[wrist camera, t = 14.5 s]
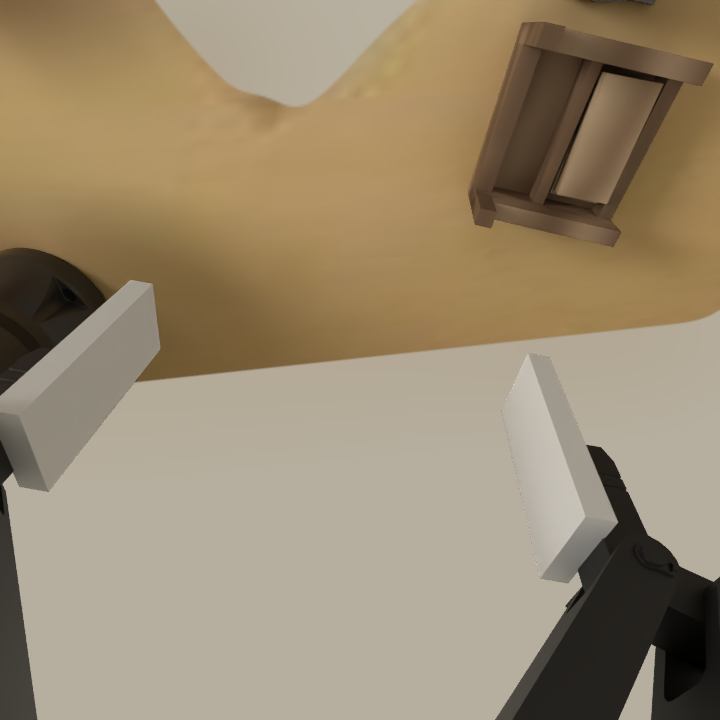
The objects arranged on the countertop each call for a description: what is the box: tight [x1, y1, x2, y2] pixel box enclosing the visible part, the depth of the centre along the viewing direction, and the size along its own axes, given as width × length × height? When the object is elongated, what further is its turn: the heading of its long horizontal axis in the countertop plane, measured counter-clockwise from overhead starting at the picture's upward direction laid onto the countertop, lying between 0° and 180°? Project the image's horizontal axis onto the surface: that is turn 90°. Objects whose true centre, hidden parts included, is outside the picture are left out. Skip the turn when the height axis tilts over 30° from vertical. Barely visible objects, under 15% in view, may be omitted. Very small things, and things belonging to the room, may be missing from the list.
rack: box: [468, 22, 713, 247], centre depth 33 cm, size 11×12×8 cm
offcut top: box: [554, 71, 663, 204], centre depth 33 cm, size 4×8×2 cm, turn 171°
